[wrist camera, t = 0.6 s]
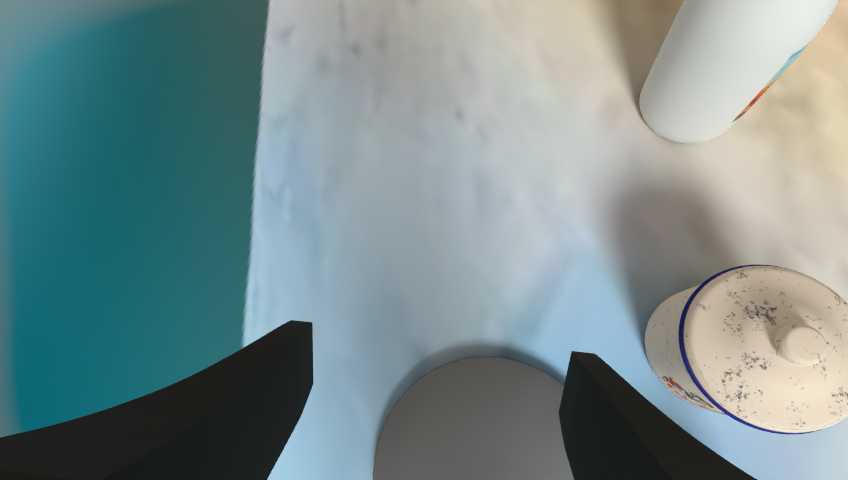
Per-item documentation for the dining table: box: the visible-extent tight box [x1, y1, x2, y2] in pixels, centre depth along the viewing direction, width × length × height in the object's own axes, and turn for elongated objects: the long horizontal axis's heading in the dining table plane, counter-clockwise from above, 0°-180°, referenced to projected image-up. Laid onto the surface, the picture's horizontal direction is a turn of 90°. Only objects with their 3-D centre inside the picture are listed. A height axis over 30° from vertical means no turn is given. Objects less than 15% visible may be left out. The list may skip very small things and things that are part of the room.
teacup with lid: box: [645, 265, 848, 434], centre depth 26 cm, size 12×9×12 cm
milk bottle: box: [639, 0, 839, 144], centre depth 27 cm, size 8×8×20 cm
